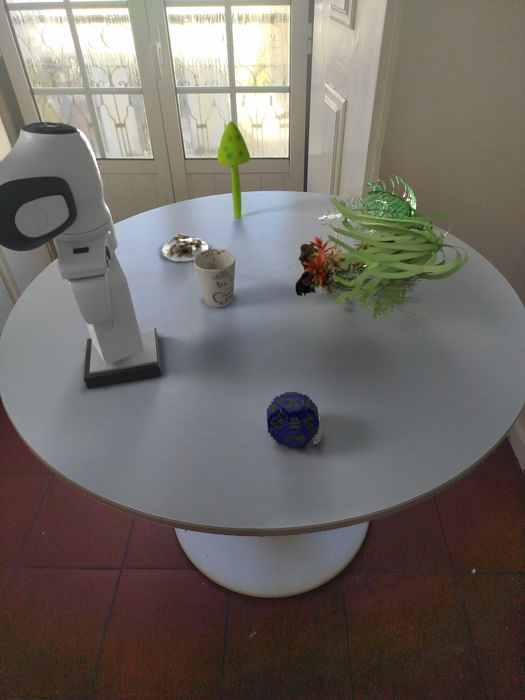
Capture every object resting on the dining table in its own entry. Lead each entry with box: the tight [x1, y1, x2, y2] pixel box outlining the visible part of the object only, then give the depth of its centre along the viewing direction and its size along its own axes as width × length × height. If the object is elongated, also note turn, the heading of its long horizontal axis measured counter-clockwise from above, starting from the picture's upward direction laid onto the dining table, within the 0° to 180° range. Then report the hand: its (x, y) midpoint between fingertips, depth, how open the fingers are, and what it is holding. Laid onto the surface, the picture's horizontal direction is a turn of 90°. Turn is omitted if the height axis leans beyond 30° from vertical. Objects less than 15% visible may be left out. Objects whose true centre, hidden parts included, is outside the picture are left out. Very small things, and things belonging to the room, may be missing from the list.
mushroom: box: [216, 120, 251, 220], centre depth 121 cm, size 8×8×25 cm
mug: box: [193, 248, 236, 309], centre depth 99 cm, size 8×13×10 cm, turn 16°
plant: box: [294, 173, 469, 332], centre depth 91 cm, size 30×30×35 cm
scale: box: [83, 327, 162, 389], centre depth 86 cm, size 13×11×3 cm
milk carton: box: [85, 250, 144, 365], centre depth 79 cm, size 7×7×19 cm
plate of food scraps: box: [161, 232, 210, 263], centre depth 116 cm, size 12×12×4 cm
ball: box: [266, 391, 322, 449], centre depth 71 cm, size 8×8×8 cm
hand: (108, 311), depth 79 cm, fingers closed on milk carton, 8 cm apart
